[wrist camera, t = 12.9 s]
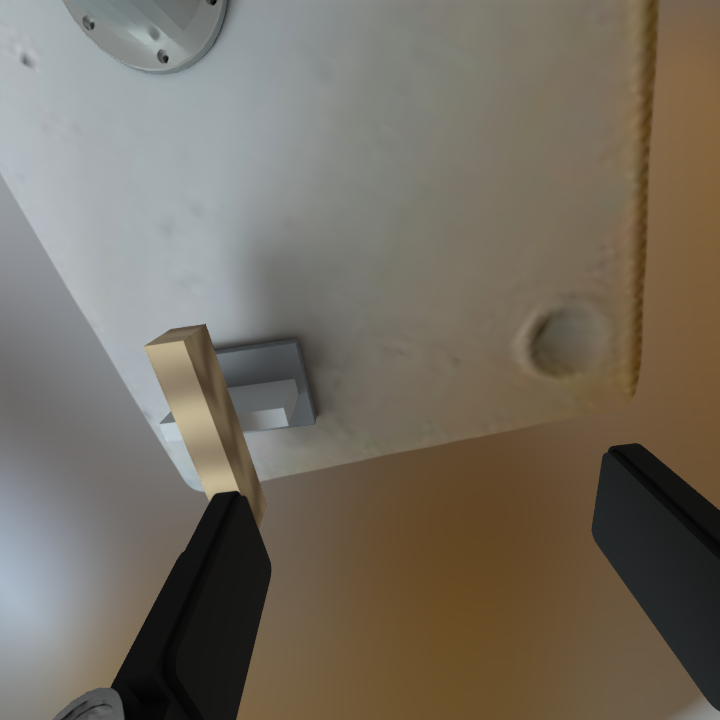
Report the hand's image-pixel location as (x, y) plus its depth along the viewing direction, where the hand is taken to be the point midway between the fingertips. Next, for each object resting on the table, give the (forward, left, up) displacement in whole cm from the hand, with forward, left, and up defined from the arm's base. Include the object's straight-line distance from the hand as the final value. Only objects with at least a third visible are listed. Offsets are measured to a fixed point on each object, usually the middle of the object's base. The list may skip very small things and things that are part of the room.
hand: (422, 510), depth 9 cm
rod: (+9, -16, -21) cm, 28 cm away
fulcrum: (+9, -16, -28) cm, 34 cm away
